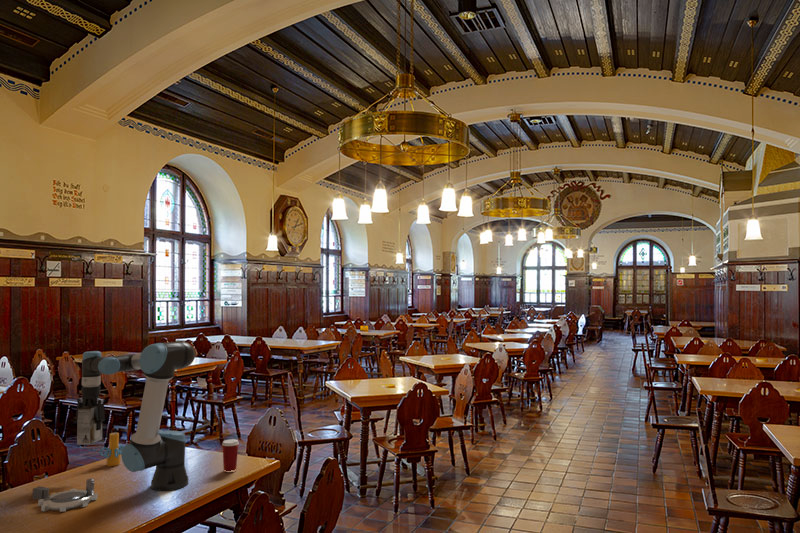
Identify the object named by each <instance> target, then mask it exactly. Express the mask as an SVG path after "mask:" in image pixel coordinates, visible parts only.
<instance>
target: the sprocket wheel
mask: <svg viewBox="0 0 800 533" xmlns="http://www.w3.org/2000/svg"><path fill="white" fill-rule="evenodd" d="M97 499H98V493H97V492H95V478H88V479H86V481H85V489H77V488H70V489H69V490H64V491H58V492H51V493H49V496H48V497H46V498H45V499H39V500H37V502H38V503H37V507H41V508H40V509H41V510H40V511H41V512H44V513H45V512H47V511H54V512H55V511H59V513H61V512H62V513H63V512H64V513H65V512H67V511H68V510H72V509H76V508H84V507H88V505H89V503H90V502H92V501H97Z"/></svg>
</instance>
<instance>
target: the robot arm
mask: <svg viewBox="0 0 800 533" xmlns="http://www.w3.org/2000/svg"><path fill="white" fill-rule="evenodd" d="M195 357H196V350H195V348H194V347H193V346H192V345H191V344H190V343H188V342H186V341H171V342H170V341H169V342H157V343H152V344H149V345H147V346H146V347H145V348H143V349H142V351H141V352H138V353H131V354H122V355H112V356H111V355H110V356H102V352H101V351H99V350H93V351H85V352H83V353H82V360H81V386H82V387H81V392H80V393H81V395H82V397H79V398H76V402H77V406H76V411H75V413H76V414H75V421H77V419H78V408H81V407H85V406H86V407H88V406H89V407H96V409H95V410H94V419H95V423H94V437H93V438H98V437H100V430H101V422H102V423H103V422H105V421H106V416H105V415H106V413H105V398H100V396H99V395H100V394H101V388H102V387H101V383H102V382H101V379H102V378H101V377H102V375H106V376H107V375H114V374H116V373H122V372H123V373H124V372H129V371H130V372H131V371H139V370H141V371H142V372H143V376H144V377H145V378H146V380H145V385H144V391H143V396H142V400H141V403H140V404H141V406H140V409H139V415H138V420H137V424H136V432H134V433H132V435H131V437H130V440H129V443H126V444H125V445H123V446H124V447H123V448H122V452H121V455H120V458H121V461H122V464H123V465H124V467H125V468H126V470H128V471H129V472H131V473H136V472H139V471H140V472H142V471H144V470H147V469H151V468H153V467H155V470H154V473H153V476H152V479H151V480H150V488H151V489H152V490H154V491H159V492H165V491H175V490H178V489H182V488H184V487H186V486H188V484H189V476H188V473H187V469H186V466H185V460H186V458H185V457H186V456H185V455H186V442H187V441H186V434H185V432H183V431H181V430H180V431H179V430H161V431H160V427H161V421H162V416H163V412H164V406H165V403H166V402H165V401H166V396H167V392H168V387H169V382H170V380H172V379H173V378H174V377H175V376H174V375H175V372H176V371H177V370H181V369H182V370H183V369H186V368H187V367H189V366H191V365H192V363H193V362H194V360H195V359H196V358H195Z"/></svg>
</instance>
